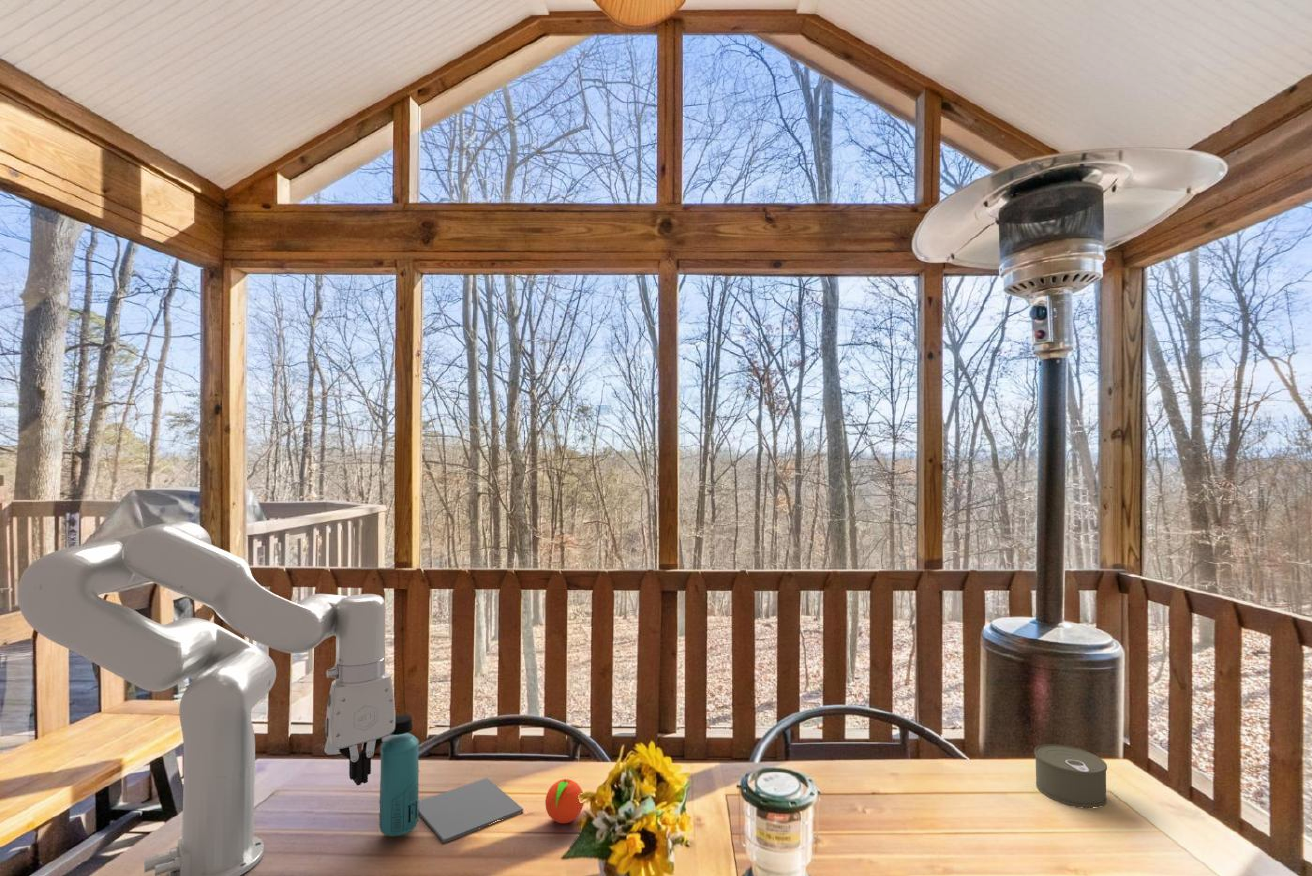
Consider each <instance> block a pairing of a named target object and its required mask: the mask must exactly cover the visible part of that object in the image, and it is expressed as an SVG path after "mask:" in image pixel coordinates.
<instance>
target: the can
mask: <svg viewBox="0 0 1312 876" xmlns="http://www.w3.org/2000/svg"><path fill="white" fill-rule="evenodd" d="M1034 756H1035V757H1034V758H1035V779H1036V783H1035V786H1036V789H1037V790H1038V791H1039V792H1040V793H1041V794H1042V795H1043V796H1045V797H1046V798H1048V799H1050V800H1052V801H1054V802H1057V803H1059V804H1063V805H1066V806H1069V807H1073V806H1075V807H1074V808H1078V807H1083V808H1082V809H1087V808H1093V807H1100V806H1103V807H1105V805H1106V804H1107V770H1108V765H1107V763H1106V762H1105V760H1103V759H1102V758H1101V757H1099V756H1098V755H1096V754H1094V753H1092V752H1089V751H1087V750H1084V749H1081V748H1077V747H1074V746H1069V745H1063V744H1053V743H1051V744H1050V743H1048V744H1041V745H1038V746H1037V747H1035V748H1034ZM1100 808H1101V807H1100Z"/></svg>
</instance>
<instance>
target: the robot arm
mask: <svg viewBox="0 0 1312 876" xmlns="http://www.w3.org/2000/svg"><path fill="white" fill-rule="evenodd" d="M147 581H149V582H151V583H153V584H156V585H158V586H161V587H163V588H165V589H167V590H170V591H172V592H175V593H177V594H179V595H182V596H184V597H187V598H189V599H191V600H193V601H195V602H198V603H200V604H202V605H204V606H207V607H209V608H210V609H212V610H213V611H214V612H215V613H216V615H217V616H218V617H219V618H220V619H221V620H223V622H224V623H226V624H227V625H228V626H229V627H230V628H231V629H233V630H234V631H236V632H237V633H238V634H239V635H241V636H243V637H245V638H247V639H249V640H252V641H254V642H257V643H259V644H261V645H264V646H266V647H268V648H271V649H273V650H276V651H278V652H282V653H286V654H291V655H293V654H294V655H295V654H297V655H298V654H299V655H300V654H304V653H307V652H309V651H312V650H313V649H316V647H317V646H318V645H320V644H321V643H322V642H323V641H324V640H326V639H329V638H330V637H333V636H334V637H336V639H335V640H336V641H335V646H336V647H335V651H336V652H335V655H336V656H335V662H334V665H333V667H332V668H329V669H327V670H326V671H325V673H326V678H327V679H329V678H331V679H335V680H333V681H332V682H331V685H330V689H329V695H328V699H327V707H326V717H325V739H326V742H325V746H324V752H325V753H326V755H329V756H331V755H342V756H344V757H345V758H346V759H348V760H349V761H348V763H349V765H348V769H349V771H348V773H349V779H350V780H351V781H353V782H354V784H356V786H357V787H358V786H361V785H362V784H367V783H369V775H371V774H372V757H373V756H374V754H375V751H376V750H377V749H378V748H379V746H381V745H382V743H383V742H384V741H386V740H388V739H390V738H391V737H393V736H394V735H391V733H393V732H394V730H395V724H396V719H395V716H396V706H395V704H396V703H395V696H394V695H395V694H394V689H393V682H392V677H391V673H389V672H387V671H386V602H385V599H384V597H383V596H381V595H379V594H375V593H362V594H359V593H358V594H353V595H339V594H331V593H330V594H329V593H315V594H311V595H308V596H306V597H304V598H303V599H301V600H298V601H297V602H294V601H291V600H289V599H286V598H285V597H282V596H279V595H277V594H275V593H273V592H272V591H270V590H268V589H267V588H265V587H264V586H262V585H261V584H259V583H258V581H256V579H255V578H254V576H253V574H252V570H251V566H250V564H249V562H248V561H247V560H246V559H245V558H243V557H241V556H238V555H236V554H234V553H231V552H229V551H227V550H225V549H222V548H220V547H219V546H218V547H217V546H216V545H213V544H212V539H211V536H210V533H209V532H208V531H207V530H206V529H205V528H203V527H202V525H199V524H197V523H195V522H192V521H186V520H178V521H176V520H175V521H171V522H167V523H160V524H159V523H158V524H155V525H151V526H147V527H145V528H142V529H140V530H139V531H137V532H135V533H132V534H127V535H124V536H118V537H116V538H115V537H114V538H111V539H106V540H102V541H97V542H92V543H86V544H82V545H81V544H80V545H75V546H71V547H67V548H62V549H58V550H55V551H52V552H50V553H47V554H45V555H42V556H41V557H39V558H38V559H36V560H35V561H33V562H32V563H30V565H28V566H27V568H25V570H24V571H23V573H22V575H21V577H20V579H19V582H18V585H17V603H18V606H19V610H20V613H21V614H22V617H23V619H24V620H25V621H26V622H27V624H28V625H29V626H30V627H31V628H32V629H34V631H35V632H37V633H38V634H39V635H41V636H43V638H44V637H45V638H46V639H47V640H49V641H52V642H54V643H55V644H57V645H59V646H60V647H61V646H62V647H63V648H66V649H68V650H69V651H72V652H74V653H76V654H78V655H80V656H82V657H83V658H86V659H87V660H88V661H90V662H92V663H93V664H96V665H97V666H99V667H101V668H102V669H105V670H107V671H108V672H110V673H112V674H114V675H116V676H117V677H120V678H121V679H123V680H125V681H127V682H128V683H130V684H131V685H134V686H136V687H138V688H140V689H142V690H144V691H148V692H153V693H154V692H155V693H156V692H163V691H166V690H169V689H170V688H174V687H175V686H177V685H179V684H181V683H182V682H183V681H186V680H187V679H191V682H190V683H189V684H188V685H187V687H185V690H184V692H183V694H182V695H181V698H180V702H179V706H178V707H179V709H178V712H179V715H178V716H179V722H180V727H181V733H182V740H183V791H182V792H183V793H182V827H181V828H182V829H181V831H182V834H181V838H179V839H178V840H177V846H175V847H173V848H170V849H169V851H167V852H164V853H160V854H155V855H152V856H150V857H146V858H144V860H143V863H144V864H143V869H144V870H143V873H144V874H146V873H148V872H152V871H154V876H159V875H162V874H165V873H167V872H168V876H242V875H243V874H245V873H247V872H248V871H250V870H251V869H253V868H254V867H255V866H256V865H257V864H258V863H259V862H260V860H261V859H262V858H263V855H264V852H265V845H264V844H265V843H264V841H263V839H261V838H259V837H257V836H255V835H254V826H255V825H254V824H255V823H254V821H255V820H254V819H255V817H254V816H255V781H256V779H255V778H256V777H255V775H256V772H255V771H256V770H255V769H256V738H255V729H254V725H253V721H252V709H253V708H254V707H255V706H256V705H257V704H258V703H259V702H260V701H261V700H262V699H264V698H265V696H267V694H268V693H269V692H270V691H271V690H272V688H273V686H274V684H275V683H276V679H277V668H276V667H277V666H276V664H275V662H274V661H273V659H272V657H270V656H269V654H268V653H266V652H265V651H263V650H262V649H261V648H260V647H257V646H256V645H255V644H253V643H250V642H249V641H247V640H245V639H244V638H241V637H240V636H239V635H237V634H235V633H233V632H231V631H229V630H228V629H226V628H224V627H222V626H220V625H218V624H217V623H215V622H213V621H210V620H207V619H203V618H201V617H184V618H180V619H177V620H173V621H171V622H169V623H167V624H162V623H159V622H156V621H154V620H153V619H151V618H148V617H146V616H145V615H143V614H141V613H139V612H138V611H136V610H135V609H133V608H130V607H129V606H125V605H123V604H120V603H117V602H113V601H109V600H107V599H105V598H102V597H101V596H100V595H103V594H107V593H110V592H113V591H116V590H119V589H124V588H126V587H130V586H133V585H137V584H139V583H140V584H141V583H143V582H147ZM358 745H361V750H360V752H359V749H358Z"/></svg>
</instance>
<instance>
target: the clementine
mask: <svg viewBox="0 0 1312 876" xmlns="http://www.w3.org/2000/svg"><path fill="white" fill-rule="evenodd" d="M580 793H583V789H582V787H580V785H579V784H578V783H577V782H576V781H574V780H573V779H568V778H562V779H560V780H557V781H556V782H554V783H553V784H552V785H551V786H550V788H549V789H548V791H547V793H546V796H545V802H544V803H545V810H546V812H547V814H548V816H549V817H550V818H551V819H552V820H553V821H555V822H556V823H558V824H569V823H571V822H573V821H574V820H575V819H577V818H578V816H579V815H580V814H581V812H582V810H583V807H584V803H585V802H584V803H580V802H579V799H578V795H579V794H580ZM583 794H584V793H583Z"/></svg>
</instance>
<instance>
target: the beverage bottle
mask: <svg viewBox="0 0 1312 876" xmlns="http://www.w3.org/2000/svg"><path fill="white" fill-rule="evenodd" d="M395 719H396V724H395V730H394V732H393V733H391V735H394V736H393V737H391V738H390V739H388V740H386V741H384V742H382V743H381V744H380V781H379V802H378V803H379V813H378V820H379V821H378V825H379V826H378V827H379V829H380V832H381V834H382V835H385V836H390V837H396V836H402V835H405V834H407V833H410V832H412V831H413V830H414V829H416V827H417V825H418V822H419V817H420V815H419V814H418V813H419V812H418V801H419V793H420V790H419V773H420V770H419V768H420V765H419V763H420V762H419V743H420V741H419V739H418V738H417V737H416V736H415V735H413V734H412V733H410V732H412V731H413V718H412V716H411V715H410V714H409V715H408V714H399V715H398V714H397V715H395Z"/></svg>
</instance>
